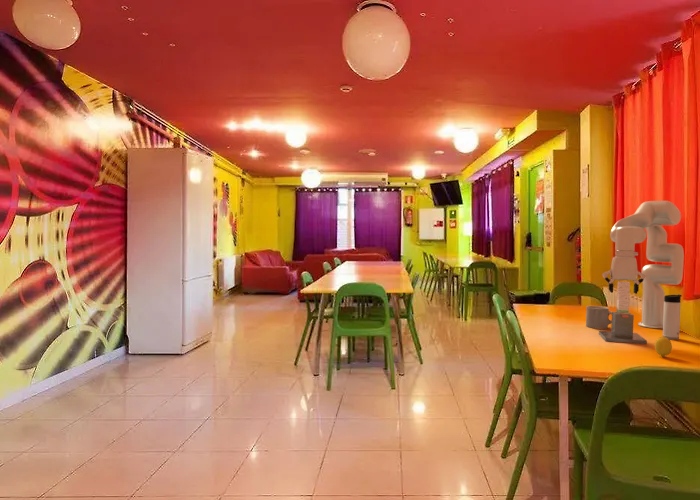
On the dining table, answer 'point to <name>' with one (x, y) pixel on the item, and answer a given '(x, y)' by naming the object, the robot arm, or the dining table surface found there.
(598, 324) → the coffee mug
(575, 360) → the dining table surface
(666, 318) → the travel mug
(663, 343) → the lemon
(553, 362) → the dining table surface
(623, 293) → the steel post
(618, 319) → the post stand
